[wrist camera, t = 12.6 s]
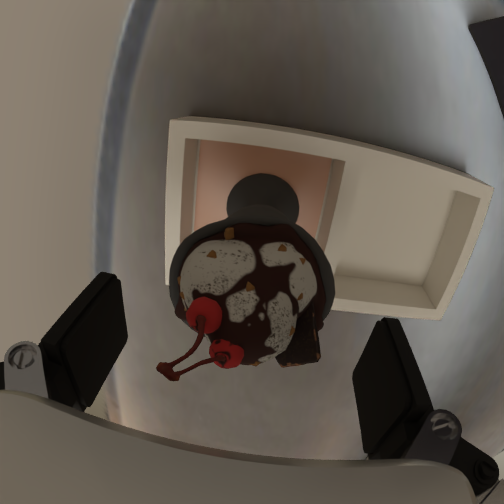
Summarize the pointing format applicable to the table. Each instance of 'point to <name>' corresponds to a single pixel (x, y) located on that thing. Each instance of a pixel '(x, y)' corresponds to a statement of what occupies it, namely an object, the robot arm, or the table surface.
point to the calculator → (492, 51)
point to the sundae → (252, 281)
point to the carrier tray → (337, 208)
